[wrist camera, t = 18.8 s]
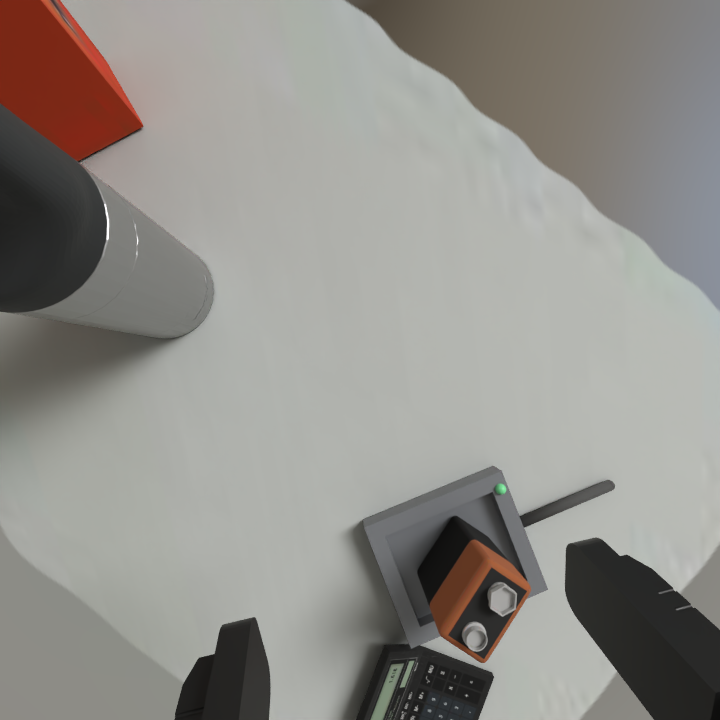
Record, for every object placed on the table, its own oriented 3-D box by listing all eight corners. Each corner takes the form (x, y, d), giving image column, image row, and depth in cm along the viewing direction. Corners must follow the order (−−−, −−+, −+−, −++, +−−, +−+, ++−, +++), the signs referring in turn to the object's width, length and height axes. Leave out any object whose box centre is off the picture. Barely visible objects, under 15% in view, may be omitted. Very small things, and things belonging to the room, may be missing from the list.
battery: (489, 536, 38) (542, 596, 28) (451, 596, 38) (490, 678, 28) (452, 511, 38) (492, 563, 28) (413, 571, 38) (439, 644, 28)
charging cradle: (407, 634, 38) (412, 653, 36) (362, 519, 38) (364, 530, 36) (631, 537, 39) (652, 549, 37) (588, 426, 39) (605, 430, 37)
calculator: (456, 761, 38) (466, 794, 35) (346, 720, 38) (347, 750, 35) (490, 670, 39) (503, 695, 36) (382, 629, 38) (385, 650, 35)
